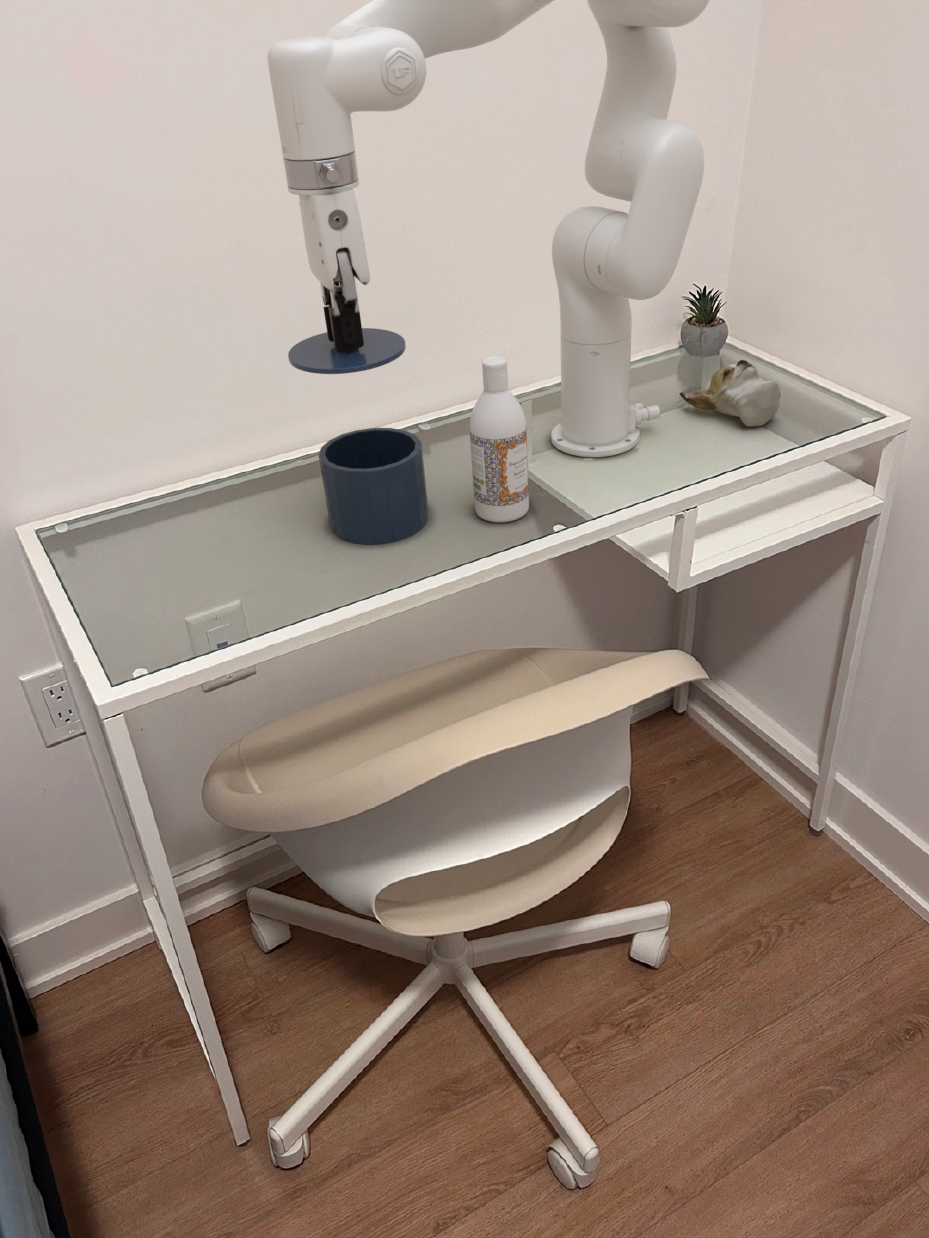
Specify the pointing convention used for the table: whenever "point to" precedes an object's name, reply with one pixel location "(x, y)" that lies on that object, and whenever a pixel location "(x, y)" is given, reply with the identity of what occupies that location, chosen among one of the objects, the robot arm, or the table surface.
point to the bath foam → (499, 448)
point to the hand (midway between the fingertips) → (346, 342)
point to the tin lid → (346, 352)
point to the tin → (374, 485)
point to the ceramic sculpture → (738, 394)
